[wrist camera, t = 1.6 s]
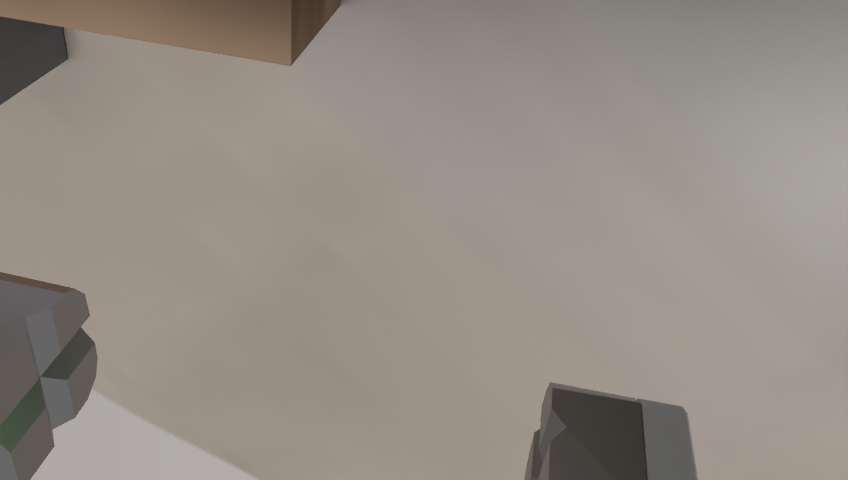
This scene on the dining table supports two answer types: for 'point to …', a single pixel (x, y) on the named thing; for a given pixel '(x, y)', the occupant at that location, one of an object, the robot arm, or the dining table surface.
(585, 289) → the dining table surface
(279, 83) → the dining table surface
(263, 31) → the wooden block
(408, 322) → the dining table surface
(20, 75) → the bay
